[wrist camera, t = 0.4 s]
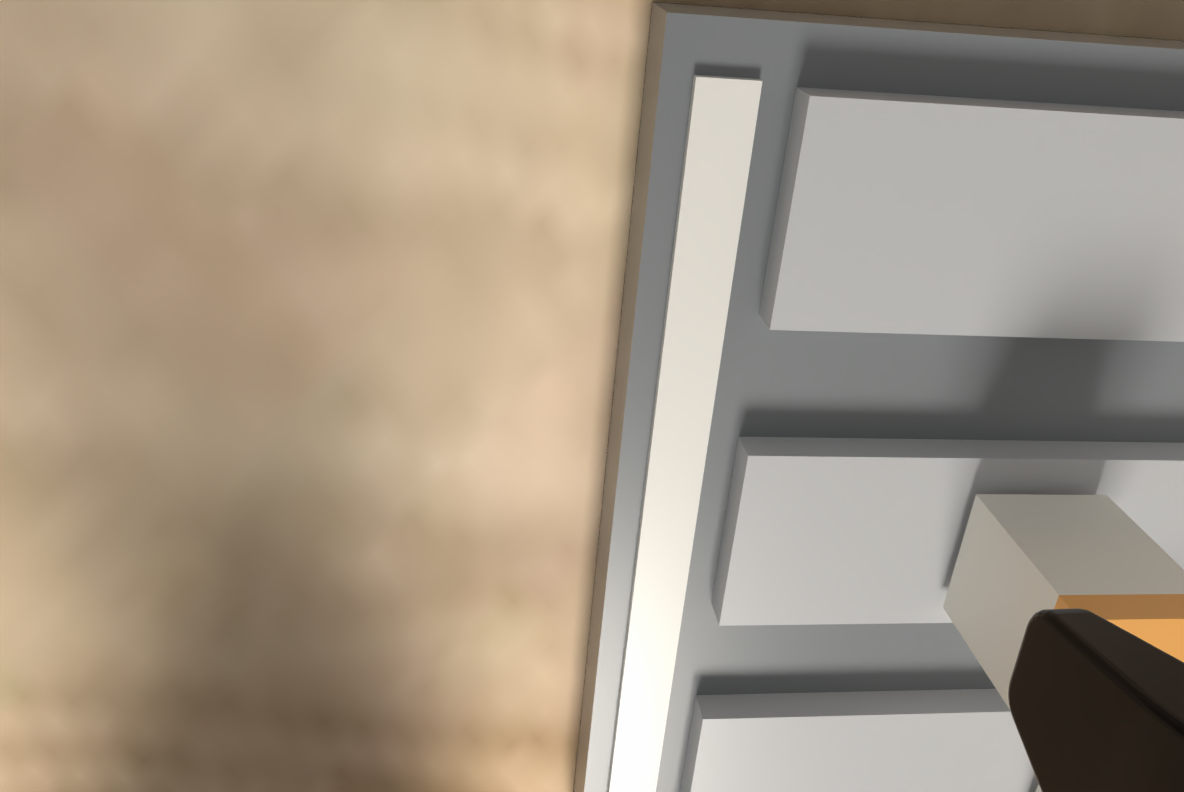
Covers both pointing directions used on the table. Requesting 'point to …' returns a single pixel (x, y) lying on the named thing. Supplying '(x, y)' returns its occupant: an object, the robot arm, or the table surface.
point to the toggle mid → (1058, 575)
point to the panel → (868, 382)
